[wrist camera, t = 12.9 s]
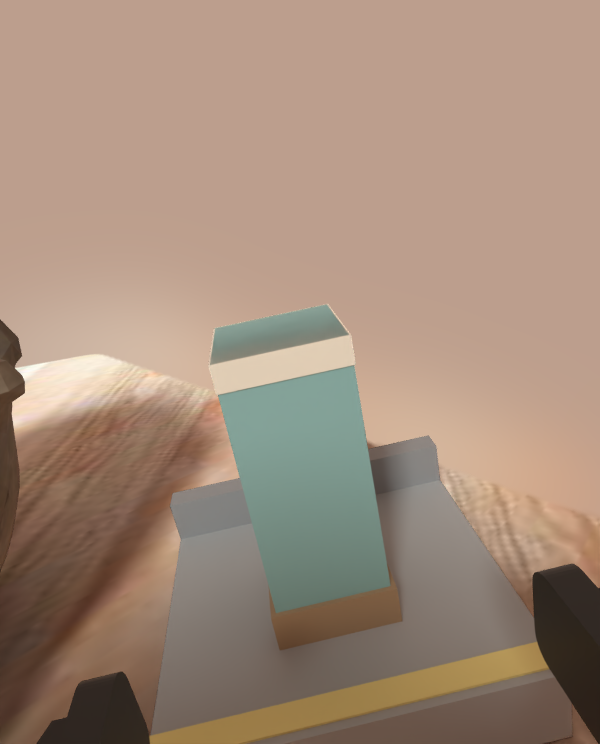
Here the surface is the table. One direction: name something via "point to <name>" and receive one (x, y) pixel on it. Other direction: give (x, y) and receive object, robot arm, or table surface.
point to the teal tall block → (305, 472)
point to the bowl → (8, 435)
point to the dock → (354, 634)
